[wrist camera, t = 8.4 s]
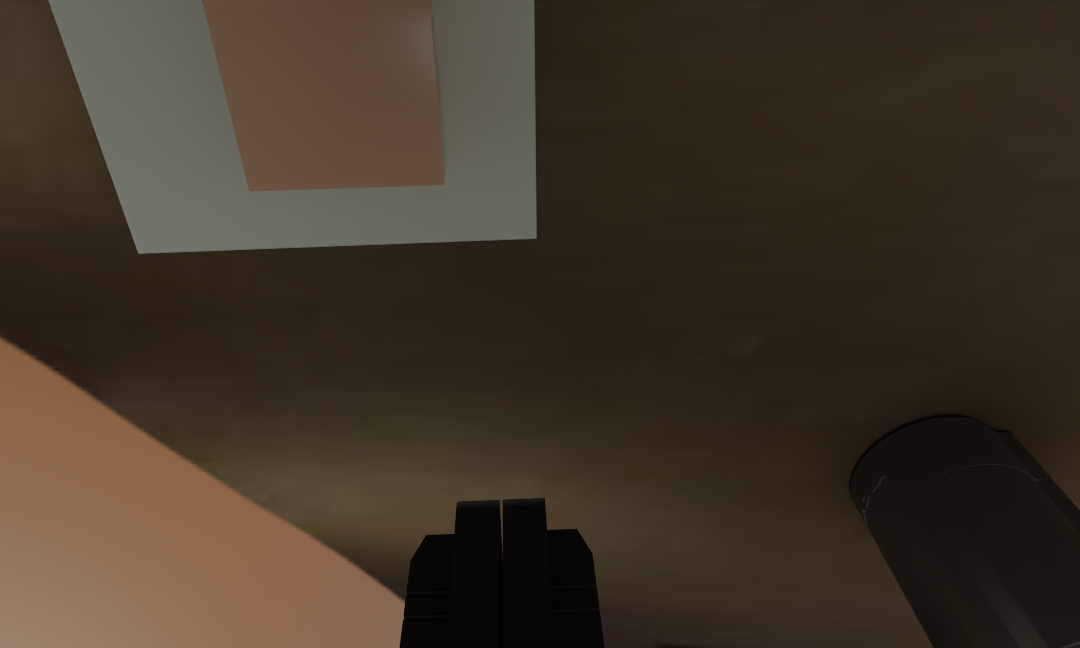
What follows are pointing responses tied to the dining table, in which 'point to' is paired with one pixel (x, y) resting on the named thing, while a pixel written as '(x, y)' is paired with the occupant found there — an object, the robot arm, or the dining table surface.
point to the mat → (299, 215)
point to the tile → (331, 91)
